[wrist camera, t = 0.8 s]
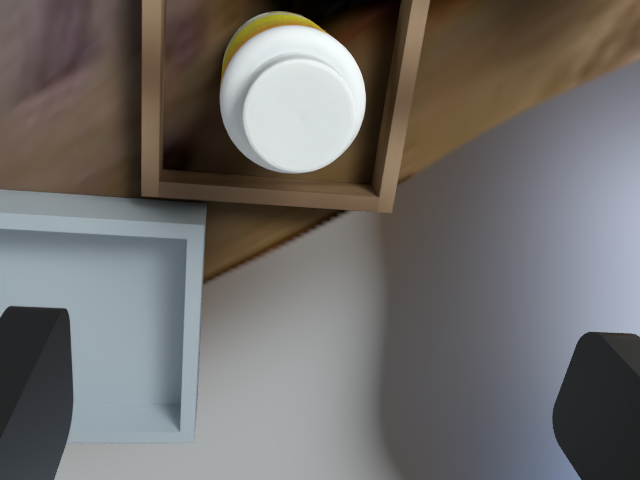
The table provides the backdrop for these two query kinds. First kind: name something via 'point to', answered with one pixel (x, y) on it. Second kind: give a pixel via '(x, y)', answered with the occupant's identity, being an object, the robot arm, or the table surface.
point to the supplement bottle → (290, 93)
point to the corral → (272, 188)
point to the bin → (115, 304)
